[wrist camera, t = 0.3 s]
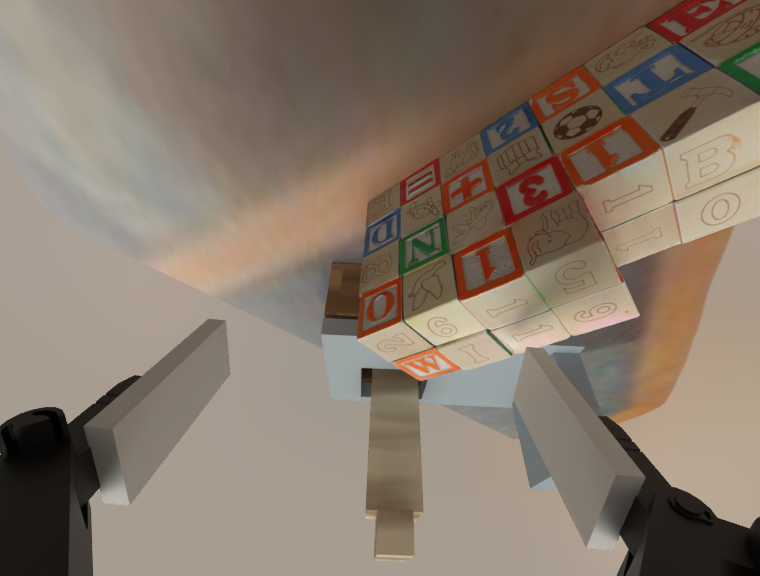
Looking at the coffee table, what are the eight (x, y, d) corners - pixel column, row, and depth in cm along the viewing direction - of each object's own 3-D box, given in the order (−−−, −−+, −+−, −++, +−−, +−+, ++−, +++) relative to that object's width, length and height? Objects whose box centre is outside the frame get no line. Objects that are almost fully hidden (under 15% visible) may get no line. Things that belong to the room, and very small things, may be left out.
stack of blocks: (722, -32, 16) (1035, 63, 8) (728, 85, 20) (949, 228, 12) (365, 202, 27) (353, 344, 19) (412, 250, 30) (419, 386, 22)
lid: (323, 318, 28) (304, 437, 22) (578, 330, 28) (626, 451, 22) (332, 385, 37) (321, 482, 31) (524, 394, 37) (548, 491, 31)
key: (375, 307, 35) (363, 554, 22) (415, 309, 35) (426, 556, 22) (373, 338, 39) (363, 559, 27) (409, 339, 39) (416, 561, 27)
